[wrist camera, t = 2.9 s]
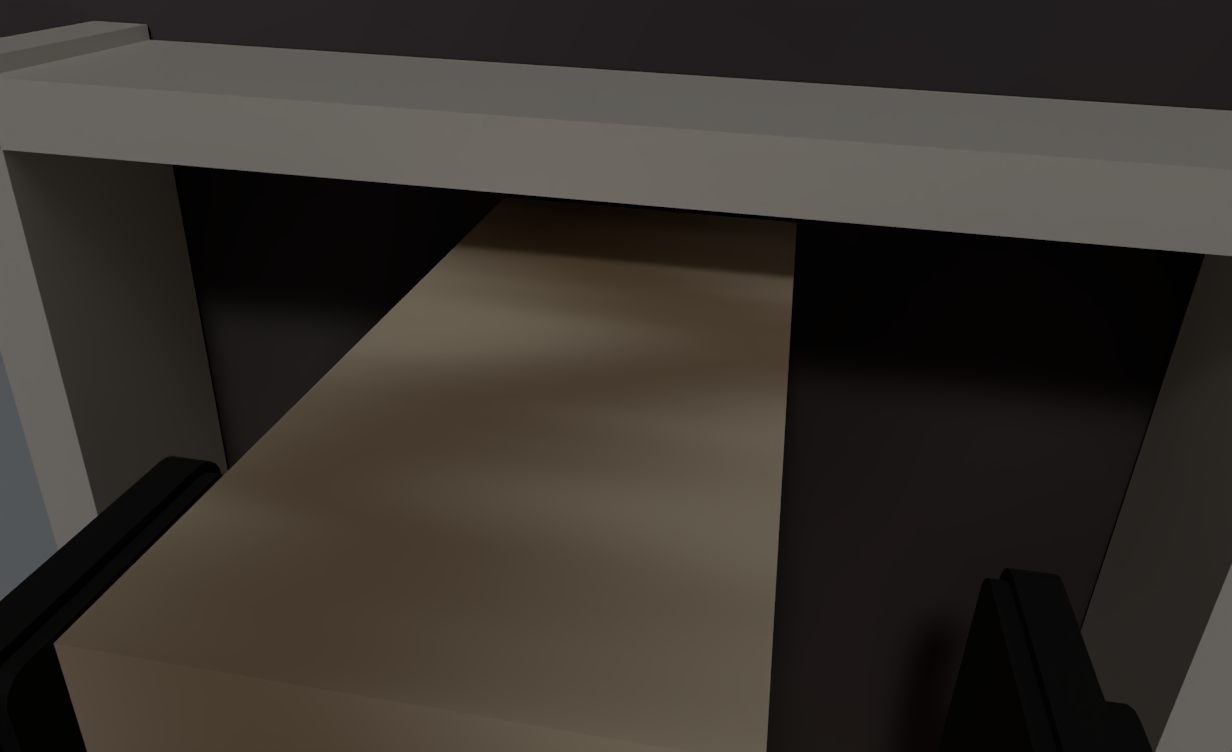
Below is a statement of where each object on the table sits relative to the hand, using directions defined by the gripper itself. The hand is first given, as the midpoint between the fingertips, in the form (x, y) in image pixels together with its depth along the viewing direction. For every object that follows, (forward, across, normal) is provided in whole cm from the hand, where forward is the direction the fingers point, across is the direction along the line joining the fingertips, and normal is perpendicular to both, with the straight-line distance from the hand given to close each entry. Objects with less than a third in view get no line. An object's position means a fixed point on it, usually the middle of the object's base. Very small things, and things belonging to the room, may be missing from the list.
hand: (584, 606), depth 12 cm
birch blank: (+4, 0, 0) cm, 4 cm away
